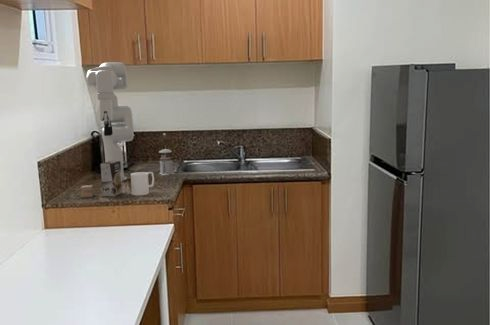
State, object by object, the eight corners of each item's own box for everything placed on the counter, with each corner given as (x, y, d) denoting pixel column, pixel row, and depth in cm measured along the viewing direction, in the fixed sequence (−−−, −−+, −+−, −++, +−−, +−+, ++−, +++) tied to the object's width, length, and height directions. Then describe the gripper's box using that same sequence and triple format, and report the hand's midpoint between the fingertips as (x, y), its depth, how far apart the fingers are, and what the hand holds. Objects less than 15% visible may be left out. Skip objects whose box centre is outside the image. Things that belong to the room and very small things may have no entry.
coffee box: (114, 196, 225) (112, 163, 223) (102, 196, 227) (99, 163, 224) (123, 192, 234) (120, 160, 232) (111, 192, 236) (108, 160, 233)
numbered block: (83, 195, 231) (82, 185, 230) (93, 195, 231) (92, 184, 231) (81, 197, 226) (80, 187, 225) (92, 197, 227) (91, 186, 226)
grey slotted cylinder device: (177, 172, 292) (174, 132, 289) (170, 175, 281) (168, 133, 277) (161, 172, 294) (159, 132, 290) (155, 175, 283) (152, 134, 279)
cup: (158, 192, 233) (157, 172, 231) (136, 196, 225) (135, 175, 224) (151, 190, 239) (149, 170, 237) (129, 193, 231) (127, 173, 230)
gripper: (99, 97, 232) (102, 134, 234) (94, 97, 215) (98, 137, 218) (115, 96, 233) (118, 133, 235) (111, 96, 216) (114, 136, 219)
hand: (108, 134), depth 226 cm, fingers open, 4 cm apart
